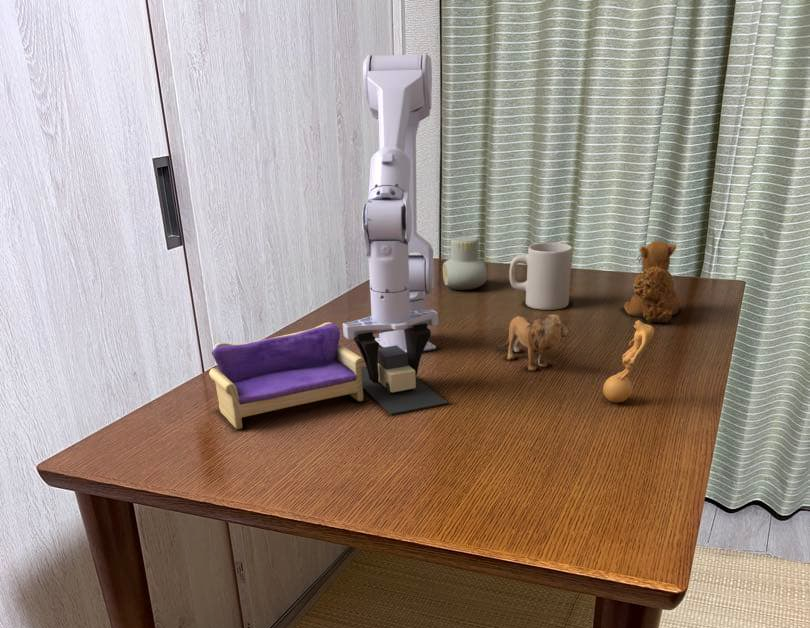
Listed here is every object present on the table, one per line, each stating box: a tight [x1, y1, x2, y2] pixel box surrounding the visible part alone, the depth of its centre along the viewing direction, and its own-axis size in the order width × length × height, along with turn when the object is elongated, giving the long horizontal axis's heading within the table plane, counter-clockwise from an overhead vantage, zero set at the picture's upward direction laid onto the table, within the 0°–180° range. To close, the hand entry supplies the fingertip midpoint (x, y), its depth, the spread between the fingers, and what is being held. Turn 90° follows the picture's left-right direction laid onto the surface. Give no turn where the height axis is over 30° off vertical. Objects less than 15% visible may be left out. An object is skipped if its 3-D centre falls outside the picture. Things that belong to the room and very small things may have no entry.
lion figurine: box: [498, 313, 569, 372], centre depth 131 cm, size 15×5×9 cm, turn 33°
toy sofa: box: [208, 321, 366, 430], centre depth 117 cm, size 21×9×10 cm, turn 118°
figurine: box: [602, 319, 655, 404], centre depth 115 cm, size 8×6×12 cm
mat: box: [361, 366, 449, 416], centre depth 125 cm, size 20×9×1 cm, turn 23°
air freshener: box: [442, 235, 488, 291], centre depth 172 cm, size 11×8×10 cm
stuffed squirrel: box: [623, 240, 681, 323], centre depth 149 cm, size 10×14×13 cm
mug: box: [508, 242, 573, 311], centre depth 160 cm, size 12×8×11 cm
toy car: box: [378, 345, 417, 394], centre depth 124 cm, size 8×4×5 cm, turn 23°
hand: (393, 377), depth 125 cm, fingers open, 6 cm apart
